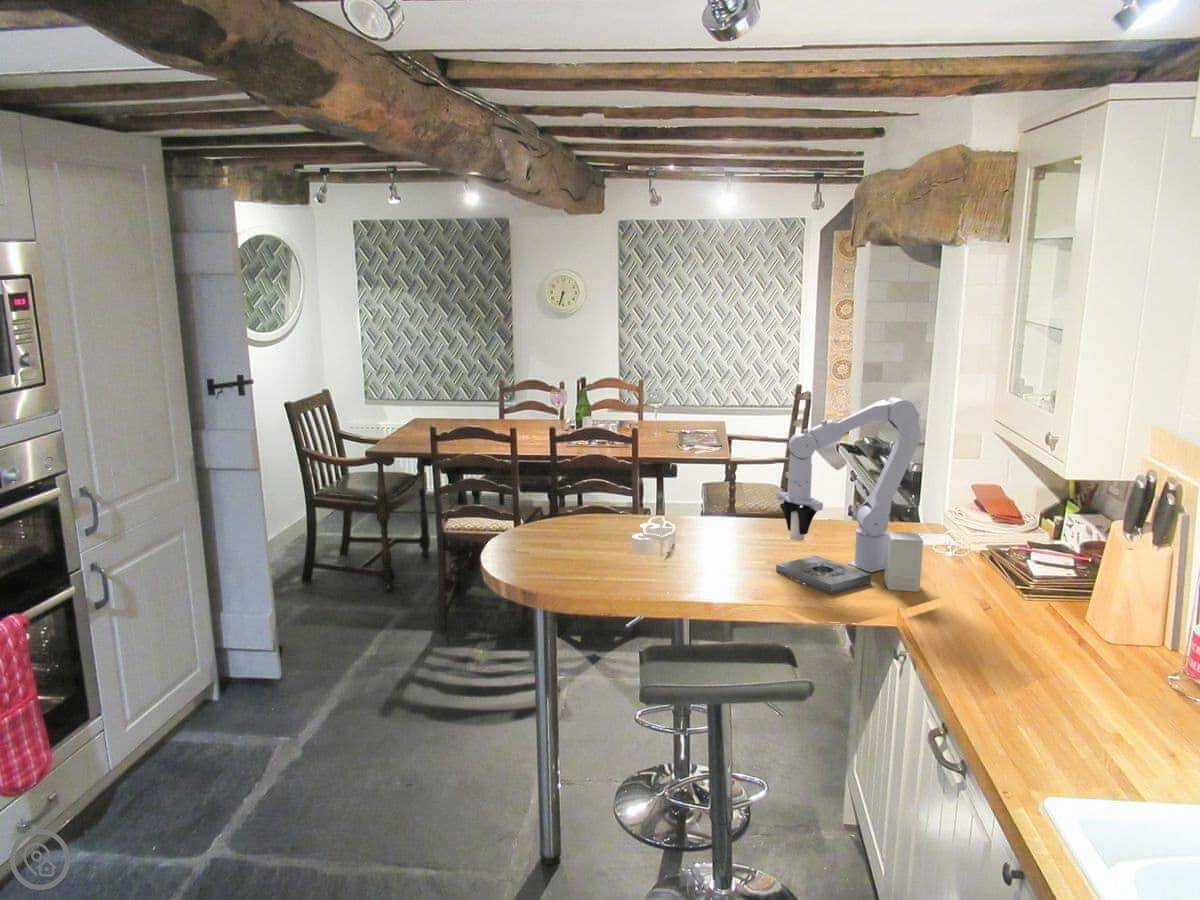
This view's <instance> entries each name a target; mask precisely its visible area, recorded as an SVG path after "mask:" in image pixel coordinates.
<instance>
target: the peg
mask: <svg viewBox="0 0 1200 900" xmlns="http://www.w3.org/2000/svg"><path fill="white" fill-rule="evenodd" d="M789 532H790V535H789V537H790V540H792V541H795V542H796V541H797V542H801V541H804V540H805V535H806V534H803V535H801V534H800V532H799V517H798V513H797V511H792V512H791V530H790V531H789Z"/></svg>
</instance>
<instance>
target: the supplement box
mask: <svg viewBox="0 0 1200 900" xmlns="http://www.w3.org/2000/svg"><path fill="white" fill-rule="evenodd" d="M923 548H924V540H923V539H922V537H921V536H920V534H919V532H909V531H905V532H904V531H887V542H886V559H885V569H884V577H883V581H884V583H885V586H886V588H887V590H889V591H900V592H902V591H904V592H915V593H919V592H920V590H921V578H922V577H921V576H922V575H921V574H922V559H923Z"/></svg>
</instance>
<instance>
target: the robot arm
mask: <svg viewBox="0 0 1200 900" xmlns="http://www.w3.org/2000/svg"><path fill="white" fill-rule="evenodd" d="M872 422H881V423H890V424H891V426H892V428H893V430H894V432H895V434H896V436H897V438H896V440H895V442H894V444H893V446H892V449H891V451H890V454H889V456H888V458H887V460H886V461H885V464H884V466H883V468H882V470H881V473H880V475H879V477H878V479H877V482H876V484H875V485H874V488H873V490H872V492H871V494H869V495H868V496H867V497H866V499H865V501H864V502H863V503H862V504H861V505H860V506H859V507H858V508H857V509H856V511H855V520H856V521H857V523H858V526H857V528H856V529H855V530H856V531H855V544H854V545H855V548H854V560H852V561H848V562H846V565H849V564H850V565H849V566H851V565H852V566H851V567H853V566H854V567H853V568H856V567H857V568H856V569H858V570H859V569H860V570H861V571H864V572H867V573H875V572H877V571H882V570H885V559H886V542H887V532H888V531H887V530H888V528H889V518H890V517H889V516H890V514H891V510H892V509H891V507H892V501H893V499H894V497H895V494H896V493H897V491H898V489H899V486H900V484H901V482H902V480H903V478H904V476H905V474H906V471H907V469H908V467H909V465H910V463H911V460H912V458H913V456H914V455H915V452H916V450H917V448H918V445H919V443H920V442H921V439H922V436H921V435H922V433H921V429H920V428H921V427H920V413H919V411H918V410H917V407H916V406H915V405H914V404H913V403H912V402H911V401H910V400H907V399H906V400H905V399H904V398H902V397H901V396H899V395H893V396H892V395H891V396H890V397H887V398H886V399H882V400H877V401H875V402H874V403H872V404H869V405H868V406H866V407H864V408H862V409H861V410H858V411H856V412H854V413H852V414H850V415H849V416H846V417H845V418H842V419H840V420H838V421H836V420H833V419H829V420H827V419H822V420H821V421H820V424H818V425H816V426H814V427H812V428H809V429H808V428H804V429H803V433H802V432H796V433H795V434H792V436H790V438H789V440H788V442H787V447H788V450H789V451H790V452H789V457H788V458H789V462H788V476H787V478H788V479H787V480H788V481H787V492H786V491H777V492H776V498H775V500H778V501H783V503H780V505H779V507H780V509H781V511H782V512H783V515H784V518H785V521H786V525H787V530H788V532H790V530H791V512H792V511H797V513H798V517H799V532H800V534H801V535H803V534H805V535H808V532H809V530H810V526H811V523H812V521H813V518H814V517H815V515H816V513H818V511H823V507H824V505H823V504H824V502H821V501H819V500H818V499H815V498H813V497H812V496H811V495H812V493H811V491H812V472H813V471H812V469H813V463H812V456H813V455H814V453H815V451H819V450H822V449H824V448H826V447H828V446H830V445H832V444H835V443H837V442H839V441H841V440H842V438H843V436H844V434H846V433H847V432H850V431H852V430H855V429H858V428H860V427H863V426H865V425H867V424H870V423H872Z"/></svg>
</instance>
